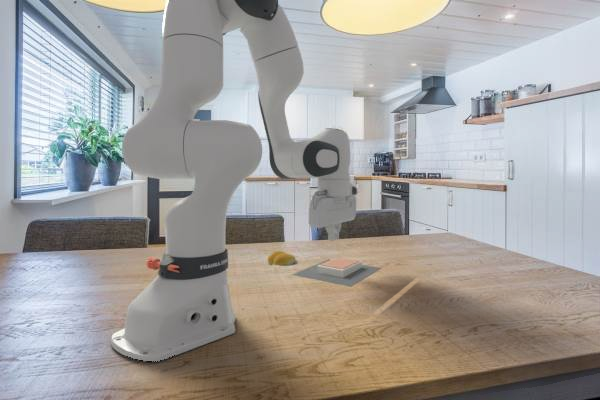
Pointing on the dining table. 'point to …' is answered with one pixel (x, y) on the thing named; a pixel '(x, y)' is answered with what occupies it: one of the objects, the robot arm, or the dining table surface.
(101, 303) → the dining table surface
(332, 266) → the tile
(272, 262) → the bread roll
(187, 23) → the robot arm
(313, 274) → the mat
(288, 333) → the dining table surface
